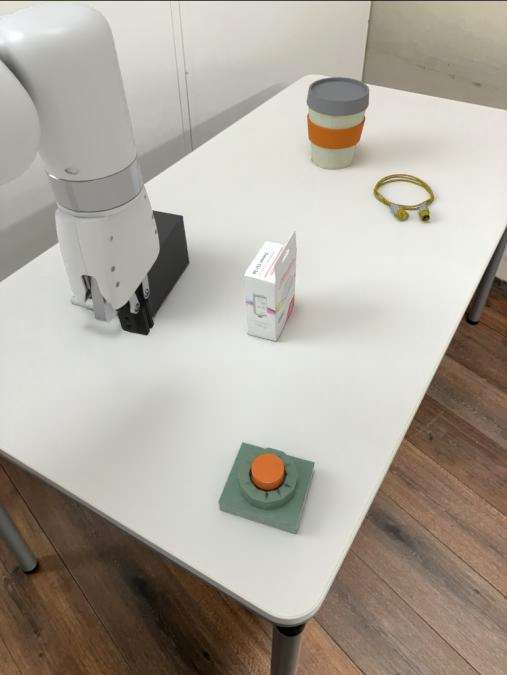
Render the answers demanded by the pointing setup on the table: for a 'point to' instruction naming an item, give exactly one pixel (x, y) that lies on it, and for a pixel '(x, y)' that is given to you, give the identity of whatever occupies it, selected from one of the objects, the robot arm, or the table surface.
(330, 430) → the table surface
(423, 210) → the extension cord
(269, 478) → the button
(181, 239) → the black hollow box
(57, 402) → the table surface
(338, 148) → the reusable coffee cup
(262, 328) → the ink cartridge box
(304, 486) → the control box
